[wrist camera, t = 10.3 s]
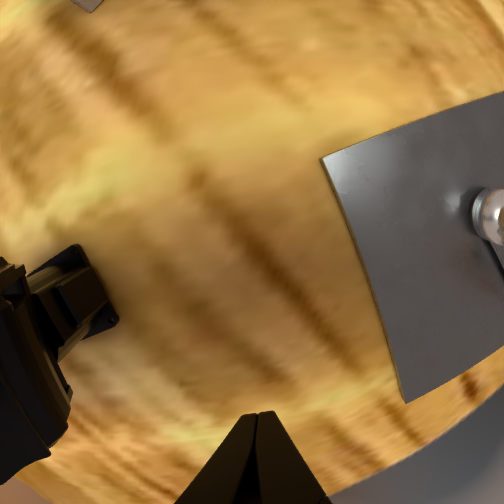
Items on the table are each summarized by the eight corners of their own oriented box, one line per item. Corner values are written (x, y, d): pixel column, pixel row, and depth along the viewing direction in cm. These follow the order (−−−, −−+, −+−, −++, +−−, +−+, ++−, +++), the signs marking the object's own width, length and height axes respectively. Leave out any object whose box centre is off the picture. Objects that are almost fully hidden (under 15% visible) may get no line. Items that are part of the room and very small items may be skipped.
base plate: (401, 396, 22) (405, 404, 21) (319, 158, 18) (322, 158, 17) (547, 301, 20) (553, 305, 19) (509, 89, 16) (516, 87, 15)
